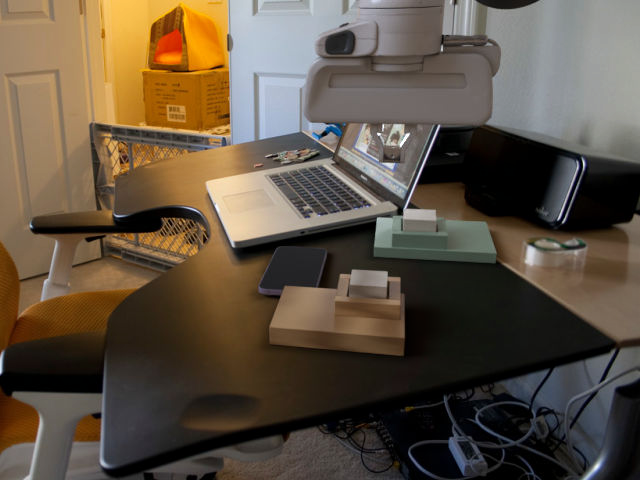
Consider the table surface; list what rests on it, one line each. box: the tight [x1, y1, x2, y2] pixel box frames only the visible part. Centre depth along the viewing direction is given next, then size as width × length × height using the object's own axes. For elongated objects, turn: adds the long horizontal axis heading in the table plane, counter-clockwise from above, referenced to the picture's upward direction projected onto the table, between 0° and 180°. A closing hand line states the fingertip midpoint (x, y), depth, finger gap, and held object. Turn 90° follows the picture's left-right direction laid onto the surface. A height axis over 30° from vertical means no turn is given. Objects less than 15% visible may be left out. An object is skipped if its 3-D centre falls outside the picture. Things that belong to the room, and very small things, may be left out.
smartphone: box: [258, 245, 328, 297], centre depth 84 cm, size 7×1×15 cm
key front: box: [349, 269, 389, 299], centre depth 71 cm, size 4×4×2 cm
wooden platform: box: [268, 273, 406, 357], centre depth 71 cm, size 14×10×4 cm
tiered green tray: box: [373, 215, 498, 264], centre depth 91 cm, size 16×12×4 cm
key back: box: [402, 208, 438, 232], centre depth 89 cm, size 4×4×2 cm
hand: (391, 162), depth 73 cm, fingers closed
